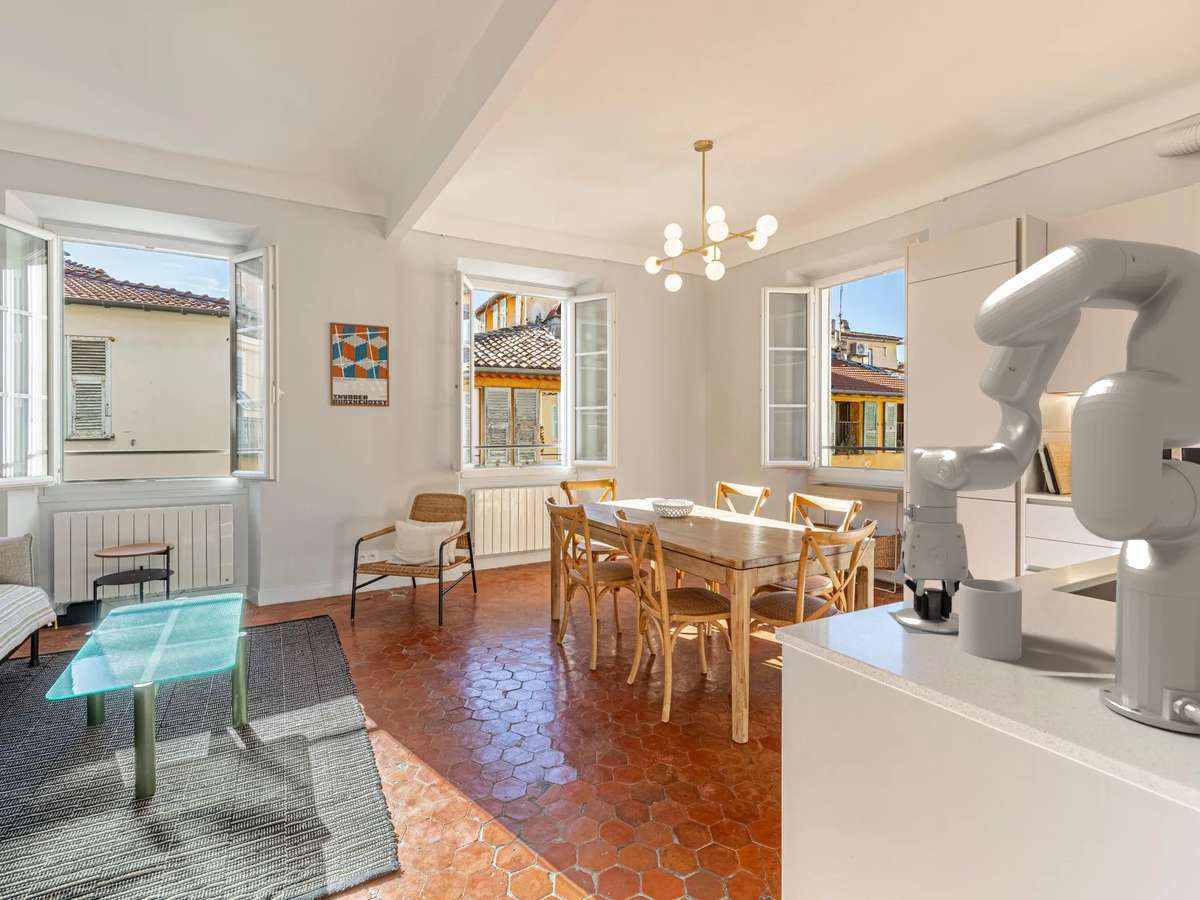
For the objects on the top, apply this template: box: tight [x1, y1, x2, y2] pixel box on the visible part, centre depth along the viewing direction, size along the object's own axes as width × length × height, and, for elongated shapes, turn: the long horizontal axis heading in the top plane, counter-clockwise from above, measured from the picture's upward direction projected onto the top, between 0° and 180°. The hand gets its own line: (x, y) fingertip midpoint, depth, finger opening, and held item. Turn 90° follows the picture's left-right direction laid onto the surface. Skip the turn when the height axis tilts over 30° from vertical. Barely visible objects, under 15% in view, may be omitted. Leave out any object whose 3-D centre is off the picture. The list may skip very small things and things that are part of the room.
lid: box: [895, 587, 959, 635], centre depth 112 cm, size 12×12×6 cm
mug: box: [957, 578, 1023, 661], centre depth 99 cm, size 12×8×11 cm
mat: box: [887, 611, 959, 636], centre depth 112 cm, size 12×12×1 cm
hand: (932, 615), depth 112 cm, fingers closed on lid, 3 cm apart
